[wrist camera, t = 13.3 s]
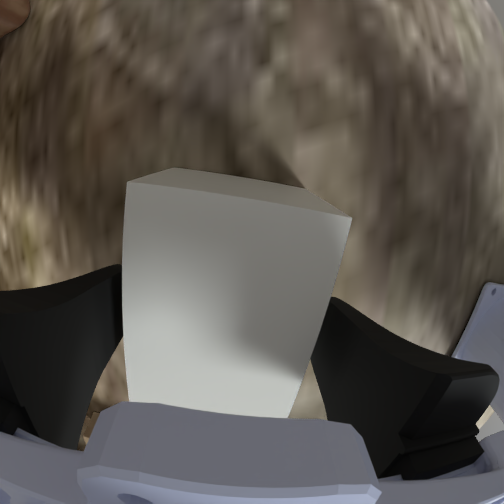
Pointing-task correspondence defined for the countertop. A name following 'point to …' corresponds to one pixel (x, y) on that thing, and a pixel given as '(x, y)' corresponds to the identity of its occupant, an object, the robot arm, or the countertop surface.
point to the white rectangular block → (224, 289)
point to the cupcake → (12, 15)
